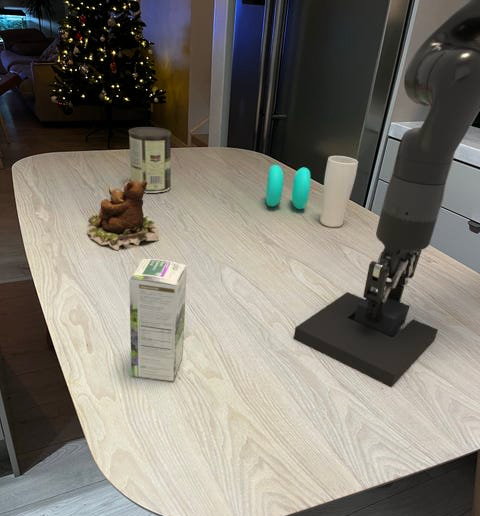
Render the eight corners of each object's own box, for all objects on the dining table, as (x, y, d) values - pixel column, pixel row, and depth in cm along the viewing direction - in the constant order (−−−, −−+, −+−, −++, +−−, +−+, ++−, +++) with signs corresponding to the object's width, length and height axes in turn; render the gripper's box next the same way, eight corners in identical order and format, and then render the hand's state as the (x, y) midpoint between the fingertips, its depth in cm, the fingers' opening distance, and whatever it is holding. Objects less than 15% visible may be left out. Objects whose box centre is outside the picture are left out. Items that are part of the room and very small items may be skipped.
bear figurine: (136, 217, 111) (134, 161, 104) (169, 241, 101) (169, 182, 95) (76, 226, 104) (70, 167, 97) (105, 253, 94) (101, 190, 87)
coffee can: (153, 179, 135) (152, 125, 128) (179, 189, 130) (179, 133, 122) (122, 185, 128) (119, 128, 121) (148, 196, 123) (147, 137, 115)
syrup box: (142, 351, 69) (140, 256, 61) (184, 357, 69) (187, 262, 61) (130, 377, 64) (126, 277, 56) (175, 383, 64) (177, 283, 56)
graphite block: (370, 309, 82) (375, 292, 80) (404, 323, 79) (409, 305, 77) (353, 321, 78) (357, 304, 76) (388, 337, 75) (393, 319, 73)
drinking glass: (339, 231, 113) (352, 165, 105) (312, 224, 116) (323, 159, 108) (349, 223, 119) (362, 159, 111) (322, 216, 121) (334, 153, 113)
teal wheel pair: (306, 215, 121) (312, 174, 116) (265, 211, 121) (270, 170, 115) (303, 201, 129) (309, 163, 124) (265, 198, 129) (269, 159, 124)
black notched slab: (345, 301, 86) (347, 291, 85) (434, 340, 78) (438, 329, 76) (293, 338, 75) (295, 327, 74) (391, 387, 67) (395, 375, 66)
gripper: (415, 230, 62) (384, 340, 71) (454, 205, 71) (422, 305, 80) (361, 213, 65) (338, 320, 74) (405, 192, 75) (380, 288, 84)
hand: (382, 312), depth 77 cm, fingers open, 6 cm apart
